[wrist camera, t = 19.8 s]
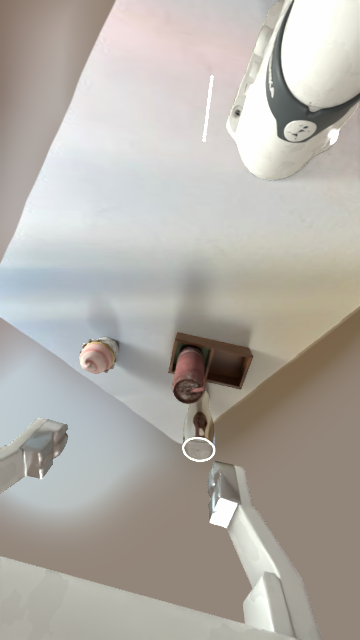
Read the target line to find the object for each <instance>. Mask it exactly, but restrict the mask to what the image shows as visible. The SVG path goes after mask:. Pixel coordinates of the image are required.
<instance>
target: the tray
mask: <svg viewBox="0 0 360 640" xmlns="http://www.w3.org/2000/svg"><path fill="white" fill-rule="evenodd" d="M186 345H194V346H197V347H199V348H200V349H201V350H202V352H203V359H204V376H205V380H206V382H210V383H215V384H219V385H223V386H228V387H232V388H236V389H241V388H242V386H243V383H244V380H245V377H246V375H247V372H248V369H249V367H250V364H251V361H252V358H253V355H252V353H251V351H250V349H249V348H246V347H242V346H237V345H233V344H228V343H224V342H219V341H215V340H210V339H206V338H201V337H197V336H192V335H188V334H183V333H179V332H177V335H176V338H175V343H174V347H173V352H172V357H171V362H170V367H169V372H168V373H171V374H175V370H176V365H177V361H178V356H179V352H180V350H181V349H182V348H183V347H184V346H186Z"/></svg>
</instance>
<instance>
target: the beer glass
mask: <svg viewBox="0 0 360 640" xmlns="http://www.w3.org/2000/svg"><path fill="white" fill-rule="evenodd" d="M209 401H210V396H209V393H208V392H207V391H206V390H205V392H204V394H203V396H202V397H201V399H200V400H199V401H198V402H195V403H192V404H189V407H188V411H187V414H186V417H185V421H184V427H183V452H184V454H185V455H186V456H187V457H188V458H190V459H192V460H195V461H206V460H208V459H210V458H212V457H213V455H214V453H215V431H214V424H213V420H212V416H211V413H210V410H209Z"/></svg>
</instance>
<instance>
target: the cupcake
mask: <svg viewBox="0 0 360 640" xmlns="http://www.w3.org/2000/svg"><path fill="white" fill-rule="evenodd" d="M82 347H83V350H81V352H80V353H81V355H80V363H81V366H82V368H83V369H84V370H86V371H89V372H91V373H94V374H99V373H102V372H105V373H107V372H108V371H109V369H113V368H114V365H115V363H116V362H117V355H118V352H119V348H118V345H117V343H116V342H115V341H114V340H112V339H111V338H106V337H104V338H100V339H96V340H93V339H89V341H88V343H85V344H83V346H82Z"/></svg>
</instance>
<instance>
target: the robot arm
mask: <svg viewBox="0 0 360 640" xmlns="http://www.w3.org/2000/svg"><path fill="white" fill-rule="evenodd" d="M212 82H213V76H211V80H210V88H209V96H208V104H207V112H206V120H205V128H204V136H203V141H205V137H206V129H207V121H208V113H209V105H210V98H211V90H212ZM359 101H360V0H281V1H279V2H278V3H276V4H275V5H273V6H272V7H271V8H270V10H269V12H268V14H267V17H266V19H265V22H264V24H263V26H262V28H261V31H260V34H259V37H258V40H257V43H256V46H255V48H254V51H253V54H252V56H251V59H250V62H249V64H248V67H247V70H246V72H245V75H244V77H243V80H242V83H241V85H240V88H239V91H238V93H237V96H236V99H235V101H234V104H233V107H232V109H231V112H230V115H229V117H228V120H227V129H228V131H229V133H230V134H231V136H232V137H233V138H234V139H235V141H236V143H237V145H238V149H239V153H240V156H241V158H242V161H243V163H244V164H245V166H246V167H247V168H248V170H249V171H250V172H252V173H253V174H254V175H256V176H258V177H260V178H262V179H266V180H279V179H283V178H286V177H288V176H291V175H293V174H294V173H296V172H297V171H299V170H300V169H301V168H302V167H303V166H305V165H306V164H307V163H308V162H309V160H310V159H312V158H313V157H314V156H315V155H317V154H319V153H321V152H324V151H325V150H327V149H329V148H330V147H331V146H332V145H333V144H334V143H335V141H336V140H337V137H338V132H339V130H340V129H341V127H342V126H343V125H344V124H345V123H346V122H347V121H348V120H349V118H350V117H351V116H352V115H353V114H354V113H355V112H356V110H357V109H358V107H359V105H360V102H359ZM235 113H239V116H236V115H235ZM67 429H68V425H67V424H63V423H59V422H56V421H52V420H49V419H45V418H41V417H40V418H38V419H36V420H35V421H34V422H33V423H32V424H31V425H30V426H29V427H28V428H27V429H26V430H25V431H24V432H23V433H21V434H20V435H19V436H18V437H17V438H16V439H15V440H14V441H13V442H12V443H11V444H10V445H9V446H8V445H5V446H3V447H1V448H0V494H1V493H2V492H4V491H5V490H7V489H8V488H9V487H11V486H12V485H14V484H15V483H16V482H18V481H19V480H21V479H22V478H23V477H25V475H26V476H31V477H36V478H40V479H42V478H43V477H44V476H45V474H46V473H47V472H48V470H49V469H50V467H51V466H52V465H53V459H54V458H56V457H57V456H59V455H60V454H61V452H62V451H63V449H64V447H65V445H66V443H67V440H68V435H67V434H66V431H67ZM208 493H209V496H210V497H211V500H210V502H209V522H210V523H213V524H217V525H220V526H224V527H227V530H228V532H229V535H230V537H231V539H232V542H233V544H234V546H235V548H236V551H237V553H238V556H239V558H240V560H241V562H242V565H243V567H244V569H245V572H246V574H247V576H248V579H249V581H250V583H251V586H252V588H253V589H252V590H251V592H250V593H249V595H248V596H247V598H246V599H245V601H244V603H243V609H244V616H245V624H243V623H239V622H235V621H232V620H228V619H224V618H221V617H217V616H213V615H210V614H206V613H203V612H199V611H196V610H192V609H189V608H185V607H182V606H178V605H174V604H170V603H167V602H163V601H160V600H156V599H153V598H149V597H145V596H142V595H138V594H135V593H131V592H127V591H124V590H120V589H117V588H113V587H109V586H106V585H102V584H98V583H95V582H92V581H88V580H84V579H81V578H77V577H74V576H70V575H66V574H62V573H59V572H55V571H52V570H48V569H45V568H41V567H38V566H34V565H30V564H27V563H23V562H20V561H16V560H12V559H9V558H5V557H1V556H0V640H322V637H321V634H320V631H319V628H318V625H317V622H316V619H315V616H314V613H313V610H312V607H311V603H310V600H309V597H308V594H307V591H306V588H305V585H304V582H303V580H302V578H301V577H300V575H299V573H298V572H297V570H296V569H295V567H294V566H293V564H292V563H291V561H290V560H289V558H288V556H287V555H286V553H285V552H284V550H283V549H282V547H281V546H280V544H279V543H278V541H277V540H276V538H275V536H274V535H273V533H272V532H271V530H270V529H269V527H268V526H267V524H266V523H265V521H264V520H263V518H262V517H261V515H260V513H259V512H258V511H257V509H256V508H253V504H252V499H251V495H250V491H249V486H248V482H247V478H246V473H245V470H244V468H243V467H239V466H234V465H231V464H227V463H222V462H218V461H214V463H213V470H211V471H210V474H209V479H208Z"/></svg>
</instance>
